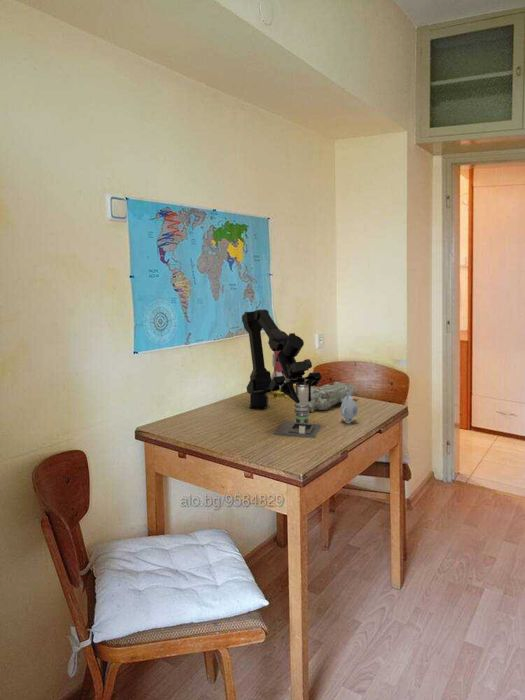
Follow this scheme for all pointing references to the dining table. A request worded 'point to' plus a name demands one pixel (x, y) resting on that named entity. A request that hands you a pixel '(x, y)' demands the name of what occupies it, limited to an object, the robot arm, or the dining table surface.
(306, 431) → the stand base
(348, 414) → the toy figure
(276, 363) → the toy rocket
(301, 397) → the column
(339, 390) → the stone
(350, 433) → the dining table surface
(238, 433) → the dining table surface
